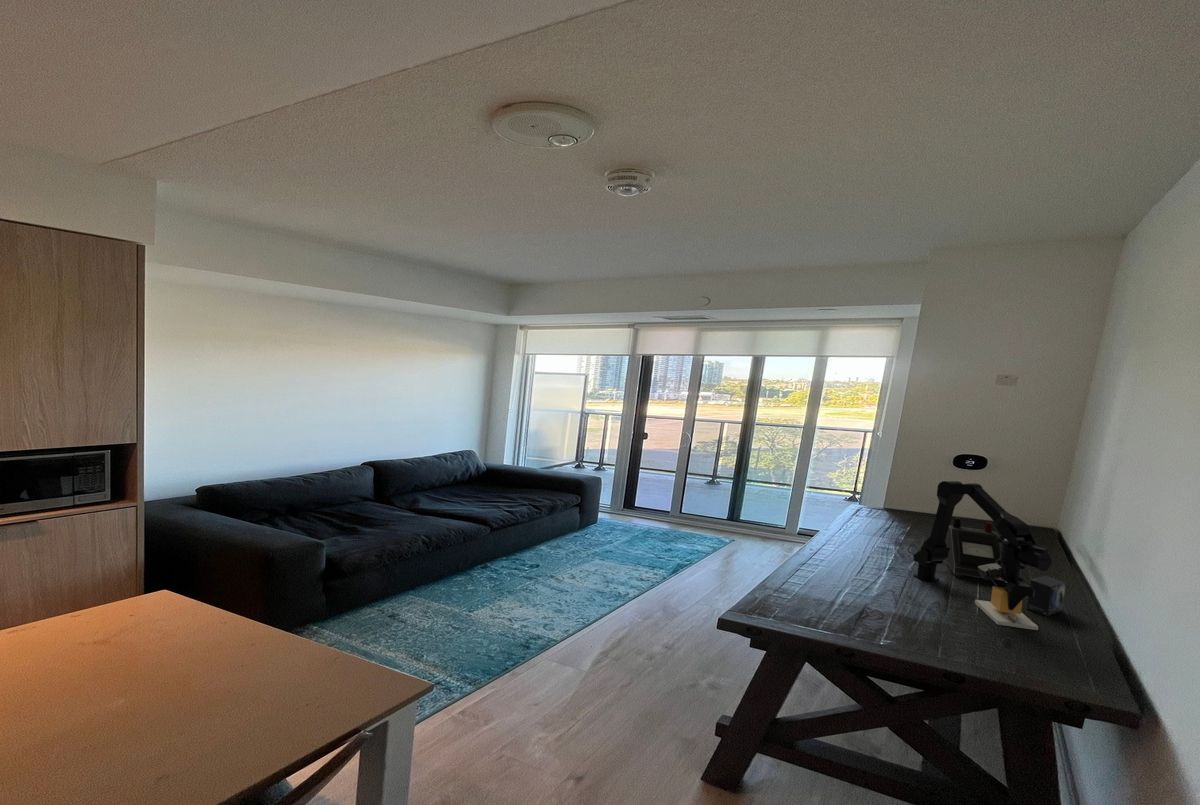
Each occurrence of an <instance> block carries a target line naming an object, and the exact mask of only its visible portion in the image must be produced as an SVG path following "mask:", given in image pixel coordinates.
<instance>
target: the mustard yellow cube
mask: <svg viewBox="0 0 1200 805" xmlns="http://www.w3.org/2000/svg"><path fill="white" fill-rule="evenodd" d="M1003 588H1004V587H996V586H995V585H993V586H992V589H991V597H990V599H991V600H990V602H991V604H992V605H993V606H994V607H995V608H996V609H997V610H999V611H1001V612H1008V613H1015V614H1021V613H1022V608H1023V599H1024V598H1023V599H1022V600H1021V601H1020V603H1019V604H1018V605H1017V606H1016V607H1015V608H1014V609H1013V610H1009V609H1008V594H1007V592H1006V591H1005V590H1004V589H1003ZM1006 589H1007V588H1006Z"/></svg>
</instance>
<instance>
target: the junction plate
mask: <svg viewBox="0 0 1200 805" xmlns="http://www.w3.org/2000/svg"><path fill="white" fill-rule="evenodd" d="M974 604H975V605H976V606H977V607H978V608H979V609H980V610H982V611H983V613H985V615H986V616H988V618H989V619H990V620H992V621H993V622H995V624H996V625H999V626H1005V627H1006V626H1007V627H1012V628H1013V627H1014V628H1019V629H1025V630H1026V629H1027V630H1034V631H1038V630H1039V625H1037V624H1036V623H1035V622H1034V621H1032V620H1031V619H1030V618H1028V617H1027V616H1026V615H1025V614H1024V613H1022V612H1021V614H1015V613H1008V612H1001V611H999V610H997V609H996V608H995V607H994V606H993V605H992V604H991V601H987V600H982V599H981V600H980V599H974Z"/></svg>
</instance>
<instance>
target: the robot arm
mask: <svg viewBox="0 0 1200 805" xmlns="http://www.w3.org/2000/svg"><path fill="white" fill-rule="evenodd" d="M965 495H967V496H969V497H970V498H971V499H972V500H973V502H975V504H977V506H978V507H979V508H980V509H981V510H982V511H984V513H986V515H988V516H989V517H990V519H991V520H992V522H993V523H994V524H993V525H994V526H995V529H996V530H997V532H998V533H999V534H1000V536H999V538H997V539H995V541H997V542H1000V548H1001V554H1000V559H997V560H996V563H994V564H986V565H981V566H978V570H979V573H980V576H981V577H983V578H982V579H983V580H985V581H991V582H992V581H993V582H992V583H994V586H996V587H1004V588H1003V589H1004V590H1005V591H1006V592H1007V594H1008V609H1009V610H1013V609H1014V608H1015V607H1016V606H1017V605H1018V604H1019V603H1020V601H1021V600H1022V599H1024V598H1026V597H1028V596H1030V597H1034V592H1035V590H1034V589H1033V588H1032V587H1030V586H1029V585H1030V584H1028V583H1025V582H1023V581H1024V578H1023V577H1022V576H1021V574H1022V570H1025V569H1026V567H1025V566H1027V567H1030V568H1032V569H1035V570H1038V571H1041V572H1047V571H1048V570H1049V569H1050V568H1051V566H1052V561H1053V560H1052V556H1051V555H1050V554H1049V552H1048V551H1049V550H1048V549H1047V548H1044V547H1040V546H1038V544H1037V543H1036V541H1035V539H1034V536H1033V534H1032V532H1030V527H1029V525H1028V524H1027V523H1026V522H1024V521H1023V520H1022V519H1020V518H1019V517H1018V516H1015V515H1013V514H1012V513H1009V512H1008V511H1006V510H1005V509H1004V508H1003V506H1001V504H999V503H998V502H997V500H995V499H994V497H992V496H991V495H990V494H989V493H988V492H987V491H985V489H983V486H982V485H981V484H979V483H978V482H977V483H972V482H971V483H969V482H968V483H963V482H961V481H958V480H943V481H941V482H939V483H938V484H937V490H936V496H937V499H938V505H937V509H936V514H935V516H934V517H935V518H934V521H933V524H932V527H931V531H930V535H929V537H928V538H927V539H926V540H924V542H923V543H922V544H921V547H920V548H919V549H920V550H918V551H917V552H915V553H914V554H913V555H912V557H913V561H914V562H916V563H918V566H917V573H914V574H913V577H915V578H917V579H920V580H923V581H925V582H928V583H931V582H935V581H936V582H937V581H939V580H940V578H939V577H937V576H936V574H937V565H943V562H944V561H945V559H946V557H948V553H949V550H950V547H947V545H946V543H947V541H946V540H947V533H948V529H949V525H950V526H951V521H952V519H953V515H954V510H955V507H956V506H957V505H958V504H959V503H960V502H961V501H962V500H963V497H964V496H965ZM1006 588H1007V589H1006ZM1022 601H1023V600H1022Z"/></svg>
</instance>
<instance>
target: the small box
mask: <svg viewBox="0 0 1200 805" xmlns="http://www.w3.org/2000/svg"><path fill="white" fill-rule="evenodd" d="M1028 585H1029V586H1030V587H1032V588H1033V589H1034V590H1035V592H1034V597H1030V596H1027V602H1026V607H1025V609H1027V610H1029V611H1032V612H1035V613H1037V614H1040V615H1043V616H1046V617H1049V616H1052V615H1055V614H1058V613H1062V612H1063V609H1064V602H1065V601H1064V600H1065V594H1066V593H1065V592H1066V587H1067V586H1066V585H1067V582H1065V581H1062V580H1060V579H1056V578H1054V577H1051V576H1048V575H1043V576H1039V577H1034V578H1031V579H1029V584H1028Z"/></svg>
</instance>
